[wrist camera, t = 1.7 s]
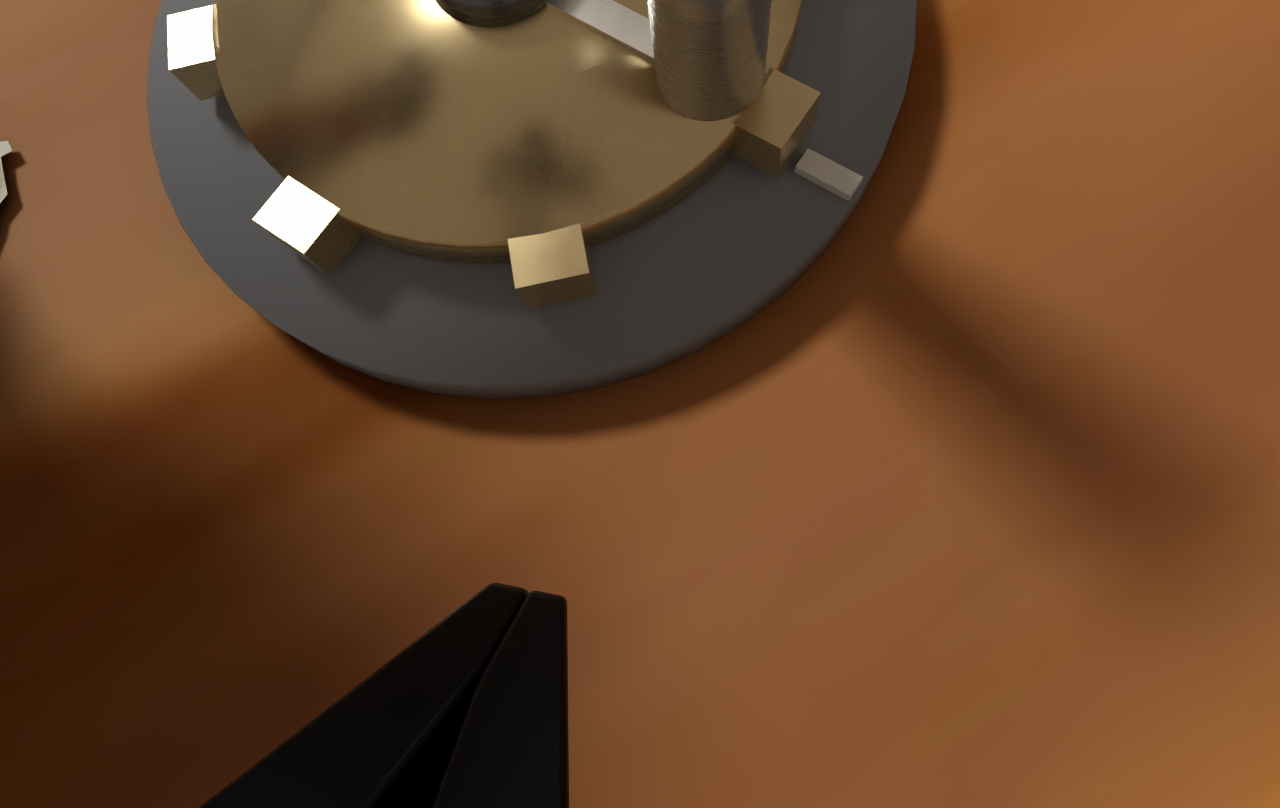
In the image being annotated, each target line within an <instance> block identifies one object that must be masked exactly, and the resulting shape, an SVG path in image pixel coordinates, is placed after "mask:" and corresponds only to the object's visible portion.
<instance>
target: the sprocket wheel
mask: <svg viewBox="0 0 1280 808" xmlns="http://www.w3.org/2000/svg"><path fill="white" fill-rule="evenodd" d="M801 1H802V0H213V5H210V6H206V7H202V8H197V9H193V10H189V11H185V12H181V13H176V14H172V15H168V16H167V28H168V65H169V71H170V72H171V73H172V74H173V75H174V76H175V77H176V78H177V79H179V80H180V81H181V82H182V83H183V84H184V85H185V86H186V87H187V88H188V89H189V90H190V91H191V92H192V93H193V94H194V95H195V96H196V97H197V98H198V99H199V100H200V101H203V100H207V99H212V98H216V97H220V96H225V97H226V99H227V101H228V103H229V105H230V107H231V109H232V112H233V114H234V116H235V118H236V120H237V122H238V124H239V126H240V127H241V129H242V130H243V131H244V133H245V134H246V136H247V137H248V139H249V140H250V142H251V143H252V144H253V146H254V147H255V149H256V150H257V152H258V153H259V154H260V155H261V156H262V157H263V158H264V159H265V160H266V161H267V162H268V163H269V164H270V165H271V166H272V167H273V168H274V169H275V170H276V171H277V172H278V173H279V174H280V175H281V177H283V178H284V179H285V180H284V181H283V183H282V184H281V185H280V186H279V188H278V189H277V190H276V191H275V192H274V194H273V195H272V196H271V197H270V198H269V200H268V201H267V202H266V203H265V205H264V206H263V207H262V208H261V209H260V211H259V212H258V213H257V214H256V215H255V217H254V218H253V219H252V220H254V221H255V222H256V223H257V224H258V225H260V226H261V227H262V228H263V229H265V230H266V231H267V232H268V233H269V234H271V235H272V236H273V237H274V238H275V239H277V240H278V241H279V242H280V243H282V244H283V245H285V246H286V247H288V248H289V249H291V250H292V251H294V252H295V253H297V254H298V255H299V256H301V257H302V258H304V259H305V260H307V261H308V262H310V263H311V264H313V265H314V266H316V267H317V268H319V269H320V270H322V271H323V272H325V273H326V274H328V275H329V276H331V275H332V273H333V272H334V271H335V270H336V268H337V267H338V266H339V265H340V263H341V262H342V261H343V260H344V258H345V257H346V256H347V255H348V253H349V252H350V251H351V249H352V248H353V247H354V246H355V244H356V243H357V242H358V241H359V239H360V238H361V237H362V238H363V239H365V240H368V241H370V242H373V243H376V244H378V245H381V246H383V247H386V248H389V249H391V250H394V251H397V252H399V253H403V254H408V255H412V256H417V257H421V258H425V259H430V260H434V261H441V262H451V263H462V264H473V265H484V264H511V265H512V271H513V278H514V285H515V289H516V291H517V292H518V294H519V295H520V297H521V298H522V300H523V302H524V303H525V305H526V306H527V308H528V309H533V308H538V307H543V306H547V305H552V304H557V303H561V302H566V301H571V300H575V299H580V298H585V297H590V296H594V295H598V293H597V287H596V282H595V276H594V271H593V266H592V260H591V255H590V249H589V248H591V247H594V246H597V245H599V244H602V243H604V242H607V241H609V240H612V239H614V238H616V237H619V236H621V235H624V234H626V233H629V232H631V231H633V230H635V229H637V228H639V227H641V226H642V225H644V224H646V223H648V222H649V221H651V220H653V219H655V218H657V217H658V216H660V215H662V214H664V213H665V212H667V211H669V210H670V209H672V208H673V207H675V206H676V205H677V204H679V203H680V202H681V201H683V200H684V199H685V198H687V197H688V196H690V195H691V194H692V193H694V192H695V191H696V190H698V189H699V188H700V187H702V186H703V185H704V184H705V183H706V182H707V181H708V180H709V179H710V178H711V177H712V176H713V175H714V174H716V173H717V172H718V171H719V170H720V169H721V168H722V167H723V166H724V165H725V164H726V163H727V162H728V161H729V160H730V159H731V158H732V157H733V156H736V157H738V158H740V159H742V160H744V161H745V162H747V163H749V164H751V165H753V166H755V167H757V168H758V169H760V170H762V171H764V172H766V173H768V174H769V175H771V176H773V177H775V178H777V179H778V177H779V176H780V174H781V173H782V171H783V170H784V169H785V167H786V166H787V164H788V163H789V161H790V160H791V158H792V157H793V156H794V154H795V153H796V151H797V150H798V148H799V147H800V146H801V144H802V143H803V141H804V140H805V138H806V137H807V136H808V134H809V133H810V131H811V130H812V128H813V127H814V126H815V121H816V115H817V110H818V105H819V100H820V95H821V92H819V91H817V90H815V89H813V88H811V87H809V86H807V85H805V84H803V83H801V82H799V81H797V80H795V79H793V78H791V77H789V76H787V75H785V72H786V70H787V67H788V65H789V61H790V57H791V53H792V50H793V46H794V42H795V39H796V35H797V30H798V23H799V15H800V8H801Z"/></svg>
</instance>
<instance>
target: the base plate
mask: <svg viewBox="0 0 1280 808" xmlns="http://www.w3.org/2000/svg"><path fill="white" fill-rule="evenodd" d="M210 5H213V0H162V3H161V6H160V9H159V12H158V15H157V18H156V22H155V28H154V34H153V39H152V45H151V51H150V56H149V66H148V95H147V105H148V114H149V123H150V131H151V140H152V146H153V150H154V154H155V157H156V161H157V165H158V168H159V172H160V175H161V179H162V183H163V186H164V188H165V190H166V193H167V195H168V197H169V199H170V201H171V204H172V206H173V208H174V210H175V212H176V215H177V217H178V219H179V221H180V223H181V225H182V227H183V228H184V230H185V231H186V233H187V234H188V236H189V237H190V239H191V240H192V242H193V243H194V245H195V246H196V248H197V249H198V251H199V252H200V254H201V255H202V257H203V258H204V260H205V261H206V263H207V264H208V265H209V266H210V267H211V268H212V269H213V270H214V271H215V272H216V273H217V275H218V276H219V277H220V278H221V279H222V280H223V281H224V282H225V283H226V284H227V285H228V286H229V288H230V289H231V290H232V291H233V292H234V293H235V294H236V295H237V296H238V297H239V298H241V299H242V300H243V301H245V302H246V303H247V304H248V305H250V306H251V307H252V308H253V309H255V310H256V311H257V312H258V313H260V314H261V315H262V316H263V317H265V318H266V319H267V320H269V321H270V322H271V323H272V324H274V325H275V326H277V327H278V328H280V329H282V330H283V331H285V332H286V333H288V334H290V335H291V336H293V337H294V338H296V339H298V340H299V341H301V342H303V343H304V344H306V345H308V346H310V347H311V348H313V349H315V350H317V351H318V352H320V353H322V354H324V355H325V356H327V357H329V358H331V359H332V360H334V361H336V362H338V363H339V364H341V365H344V366H346V367H349V368H351V369H354V370H357V371H359V372H362V373H364V374H367V375H369V376H372V377H375V378H377V379H380V380H382V381H385V382H388V383H392V384H396V385H400V386H405V387H409V388H413V389H417V390H422V391H426V392H430V393H434V394H442V395H453V396H463V397H473V398H483V399H501V398H532V397H545V396H551V395H558V394H564V393H570V392H576V391H582V390H589V389H595V388H598V387H601V386H605V385H608V384H612V383H615V382H619V381H622V380H625V379H629V378H632V377H636V376H639V375H642V374H646V373H649V372H651V371H653V370H655V369H658V368H660V367H662V366H665V365H667V364H669V363H672V362H674V361H676V360H678V359H681V358H683V357H685V356H688V355H690V354H692V353H695V352H697V351H699V350H700V349H702V348H704V347H705V346H707V345H709V344H710V343H712V342H714V341H716V340H717V339H719V338H721V337H722V336H724V335H726V334H727V333H729V332H731V331H732V330H734V329H736V328H737V327H739V326H741V325H742V324H744V323H745V322H747V321H748V320H749V319H751V318H752V317H753V316H754V315H756V314H757V313H758V312H760V311H761V310H762V309H763V308H765V307H766V306H767V305H769V304H770V303H771V302H772V301H774V300H775V299H776V298H777V297H779V296H780V295H781V294H783V293H784V292H785V291H786V290H787V289H788V288H789V287H790V286H791V285H792V284H793V283H794V282H795V281H796V280H797V279H798V278H799V277H800V276H801V275H802V274H803V273H804V272H805V271H806V270H807V269H808V268H809V267H810V266H811V265H812V264H813V263H814V262H815V261H816V260H817V259H818V258H819V257H820V256H821V255H822V254H823V253H824V251H825V250H826V249H827V247H828V246H829V245H830V243H831V242H832V241H833V239H834V238H835V237H836V235H837V234H838V233H839V231H840V230H841V229H842V227H843V226H844V225H845V223H846V222H847V221H848V219H849V218H850V217H851V215H852V214H853V213H854V211H855V209H856V207H857V205H858V204H859V202H860V200H861V198H862V196H863V195H864V193H865V191H866V189H867V187H868V185H869V184H870V182H871V180H872V178H873V176H874V174H875V173H876V171H877V169H878V166H879V163H880V161H881V158H882V155H883V153H884V150H885V147H886V145H887V142H888V139H889V137H890V134H891V131H892V129H893V126H894V123H895V120H896V118H897V115H898V112H899V109H900V107H901V104H902V101H903V98H904V96H905V92H906V87H907V82H908V77H909V72H910V68H911V63H912V58H913V53H914V48H915V29H916V8H917V0H802V1H801V8H800V15H799V23H798V30H797V35H796V39H795V42H794V46H793V50H792V53H791V57H790V61H789V65H788V67H787V70H786V72H785V75H787V76H789V77H791V78H793V79H795V80H797V81H799V82H801V83H803V84H805V85H807V86H809V87H811V88H813V89H815V90H817V91H819V92H821V95H820V100H819V105H818V110H817V115H816V121H815V126H814V127H813V128H812V130H811V131H810V133H809V134H808V136H807V137H806V138H805V140H804V141H803V143H802V144H801V146H800V147H799V148H798V150H797V151H796V153H795V154H794V156H793V157H792V158H791V160H790V161H789V163H788V164H787V166H786V167H785V169H784V170H783V171H782V173H781V174H780V176H779V177H778V179H777V178H775V177H773V176H771V175H769V174H768V173H766V172H764V171H762V170H760V169H758V168H757V167H755V166H753V165H751V164H749V163H747V162H745V161H744V160H742V159H740V158H738V157H736V156H733V157H732V158H731V159H730V160H729V161H728V162H727V163H726V164H725V165H724V166H723V167H722V168H721V169H720V170H719V171H718V172H717V173H716V174H714V175H713V176H712V177H711V178H710V179H709V180H708V181H707V182H706V183H705V184H704V185H703V186H702V187H700V188H699V189H698V190H696V191H695V192H694V193H692V194H691V195H690V196H688V197H687V198H685V199H684V200H683V201H681V202H680V203H679V204H677V205H676V206H675V207H673V208H672V209H670V210H669V211H667V212H665V213H664V214H662V215H660V216H658V217H657V218H655V219H653V220H651V221H649V222H648V223H646V224H644V225H642V226H641V227H639V228H637V229H635V230H633V231H631V232H629V233H626V234H624V235H621V236H619V237H616V238H614V239H612V240H609V241H607V242H604V243H602V244H599V245H597V246H594V247H591V248H589V249H590V255H591V260H592V266H593V271H594V276H595V282H596V287H597V293H598V295H594V296H590V297H585V298H580V299H575V300H571V301H566V302H561V303H557V304H552V305H547V306H543V307H538V308H533V309H528V308H527V306H526V305H525V303H524V302H523V300H522V298H521V297H520V295H519V294H518V292H517V291H516V289H515V285H514V278H513V271H512V265H511V264H484V265H473V264H462V263H451V262H441V261H434V260H430V259H425V258H421V257H417V256H412V255H408V254H403V253H399V252H397V251H394V250H391V249H389V248H386V247H383V246H381V245H378V244H376V243H373V242H370V241H368V240H365V239H363V238H362V237H361V238H360V239H359V241H358V242H357V243H356V244H355V246H354V247H353V248H352V249H351V251H350V252H349V253H348V255H347V256H346V257H345V258H344V260H343V261H342V262H341V263H340V265H339V266H338V267H337V268H336V270H335V271H334V272H333V273H332V275H331V276H329V275H328V274H326V273H325V272H323V271H322V270H320V269H319V268H317V267H316V266H314V265H313V264H311V263H310V262H308V261H307V260H305V259H304V258H302V257H301V256H299V255H298V254H297V253H295V252H294V251H292V250H291V249H289V248H288V247H286V246H285V245H283V244H282V243H280V242H279V241H278V240H277V239H275V238H274V237H273V236H272V235H271V234H269V233H268V232H267V231H266V230H265V229H263V228H262V227H261V226H260V225H258V224H257V223H256V222H255V221H254V220H252V219H253V218H254V217H255V215H256V214H257V213H258V212H259V211H260V209H261V208H262V207H263V206H264V205H265V203H266V202H267V201H268V200H269V198H270V197H271V196H272V195H273V194H274V192H275V191H276V190H277V189H278V188H279V186H280V185H281V184H282V183H283V181H284V180H285V179H284V178H283V177H281V175H280V174H279V173H278V172H277V171H276V170H275V169H274V168H273V167H272V166H271V165H270V164H269V163H268V162H267V161H266V160H265V159H264V158H263V157H262V156H261V155H260V154H259V153H258V152H257V150H256V149H255V147H254V146H253V144H252V143H251V142H250V140H249V139H248V137H247V136H246V134H245V133H244V131H243V130H242V129H241V127H240V126H239V124H238V122H237V120H236V118H235V116H234V114H233V112H232V109H231V107H230V105H229V103H228V101H227V99H226V97H225V96H220V97H216V98H212V99H207V100H203V101H200V100H199V99H198V98H197V97H196V96H195V95H194V94H193V93H192V92H191V91H190V90H189V89H188V88H187V87H186V86H185V85H184V84H183V83H182V82H181V81H180V80H179V79H177V78H176V77H175V76H174V75H173V74H172V73H171V72H170V71H169V65H168V28H167V16H168V15H172V14H176V13H181V12H185V11H189V10H193V9H197V8H202V7H206V6H210Z"/></svg>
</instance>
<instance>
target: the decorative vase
mask: <svg viewBox="0 0 1280 808" xmlns="http://www.w3.org/2000/svg"><path fill="white" fill-rule="evenodd" d="M11 151H12V149H11V147H10V145H9V143H8V141H3V142H0V203H1V202H2V201H3V199H4V198H5V197H6V195H7V189H6V184H5V179H4V173H3V167H2V161H1V157H2V156H4V155H5V154H7V153H9V152H11Z"/></svg>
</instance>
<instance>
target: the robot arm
mask: <svg viewBox="0 0 1280 808" xmlns="http://www.w3.org/2000/svg"><path fill="white" fill-rule="evenodd" d="M199 808H569V754H568V650H567V601H566V599H565V598H564V597H563V596H559V595H554V594H549V593H545V592H540V591H532V592H530V593H528V591H527V590H525V589H523V588H520V587H515V586H510V585H505V584H500V583H493V584H490V585H488V586H486V587H485V588H483V589H482V590H481V591H480V592H478V593H477V594H476V595H474V596H473V597H472V598H470V599H469V600H468V601H467V602H465V603H464V604H463V605H461V606H460V607H459V608H457V609H456V610H455V611H454V612H452V613H451V614H450V615H448V616H447V617H446V618H444V619H443V620H442V621H441V622H439V623H438V624H437V625H435V626H434V627H433V628H431V629H430V630H429V631H428V632H426V633H425V634H424V635H422V636H421V637H420V638H418V639H417V640H416V641H415V642H413V643H412V644H411V645H409V646H408V647H407V648H406V649H404V650H403V651H402V652H400V653H399V654H398V655H396V656H395V657H394V658H393V659H391V660H390V661H389V662H387V663H386V664H385V665H383V666H382V667H381V668H380V669H378V670H377V671H376V672H374V673H373V674H372V675H370V676H369V677H368V678H367V679H365V680H364V681H363V682H361V683H360V684H359V685H357V686H356V687H355V688H354V689H352V690H351V691H350V692H348V693H347V694H346V695H344V696H343V697H342V698H341V699H339V700H338V701H337V702H335V703H334V704H333V705H331V706H330V707H329V708H328V709H326V710H325V711H324V712H322V713H321V714H320V715H319V716H317V717H316V718H315V719H313V720H312V721H311V722H309V723H308V724H307V725H306V726H304V727H303V728H302V729H300V730H299V731H298V732H296V733H295V734H294V735H293V736H291V737H290V738H289V739H287V740H286V741H285V742H283V743H282V744H281V745H280V746H278V747H277V748H276V749H274V750H273V751H272V752H270V753H269V754H268V755H267V756H265V757H264V758H263V759H261V760H260V761H259V762H257V763H256V764H255V765H254V766H252V767H251V768H250V769H248V770H247V771H246V772H244V773H243V774H242V775H241V776H239V777H238V778H237V779H235V780H234V781H233V782H232V783H230V784H229V785H228V786H226V787H225V788H224V789H222V790H221V791H220V792H219V793H217V794H216V795H215V796H213V797H212V798H211V799H209V800H208V801H207V802H206V803H204V804H203V805H202V806H200V807H199Z"/></svg>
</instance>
